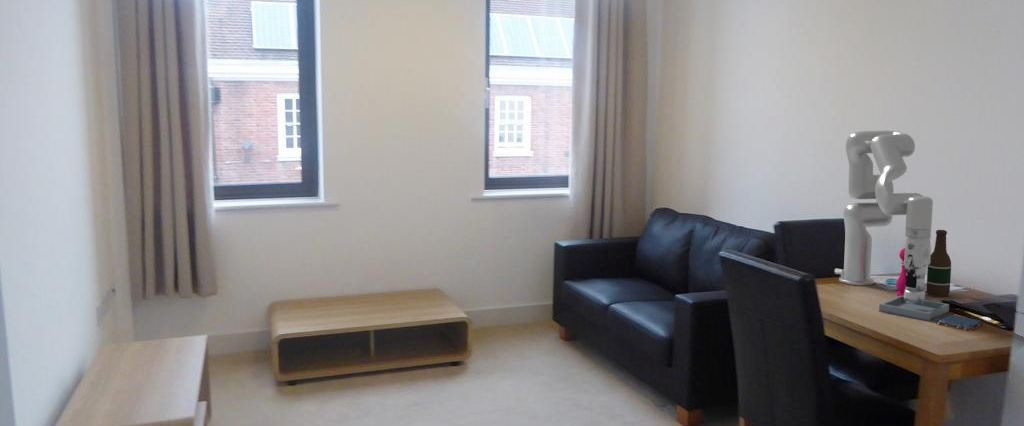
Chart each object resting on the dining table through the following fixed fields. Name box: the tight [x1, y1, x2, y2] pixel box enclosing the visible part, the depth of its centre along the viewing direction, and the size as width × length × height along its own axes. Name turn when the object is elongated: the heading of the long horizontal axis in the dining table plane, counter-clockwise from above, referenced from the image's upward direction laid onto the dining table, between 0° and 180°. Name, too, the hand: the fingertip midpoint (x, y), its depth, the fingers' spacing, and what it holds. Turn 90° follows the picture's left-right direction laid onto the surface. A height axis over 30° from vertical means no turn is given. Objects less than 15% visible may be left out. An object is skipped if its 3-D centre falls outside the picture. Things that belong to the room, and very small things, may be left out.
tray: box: [878, 296, 950, 322], centre depth 248 cm, size 16×16×2 cm
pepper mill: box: [895, 247, 906, 297], centre depth 264 cm, size 7×7×20 cm
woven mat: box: [936, 314, 984, 332], centre depth 233 cm, size 10×11×2 cm
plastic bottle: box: [904, 259, 928, 304], centre depth 247 cm, size 6×7×20 cm
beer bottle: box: [926, 229, 952, 298], centre depth 267 cm, size 8×8×24 cm
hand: (915, 285), depth 247 cm, fingers closed on plastic bottle, 5 cm apart
